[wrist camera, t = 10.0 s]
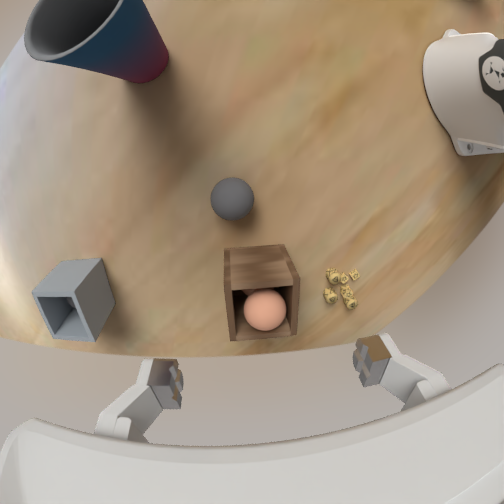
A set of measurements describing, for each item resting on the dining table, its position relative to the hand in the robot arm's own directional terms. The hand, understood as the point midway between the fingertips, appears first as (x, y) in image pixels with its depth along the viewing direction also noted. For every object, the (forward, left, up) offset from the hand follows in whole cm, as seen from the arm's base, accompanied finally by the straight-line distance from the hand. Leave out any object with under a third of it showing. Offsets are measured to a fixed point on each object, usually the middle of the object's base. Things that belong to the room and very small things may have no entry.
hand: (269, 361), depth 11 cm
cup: (+9, -18, -19) cm, 28 cm away
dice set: (-11, +9, -19) cm, 24 cm away
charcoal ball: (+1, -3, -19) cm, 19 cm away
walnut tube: (-1, +6, -19) cm, 20 cm away
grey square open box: (+20, +6, -19) cm, 28 cm away
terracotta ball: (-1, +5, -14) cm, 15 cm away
